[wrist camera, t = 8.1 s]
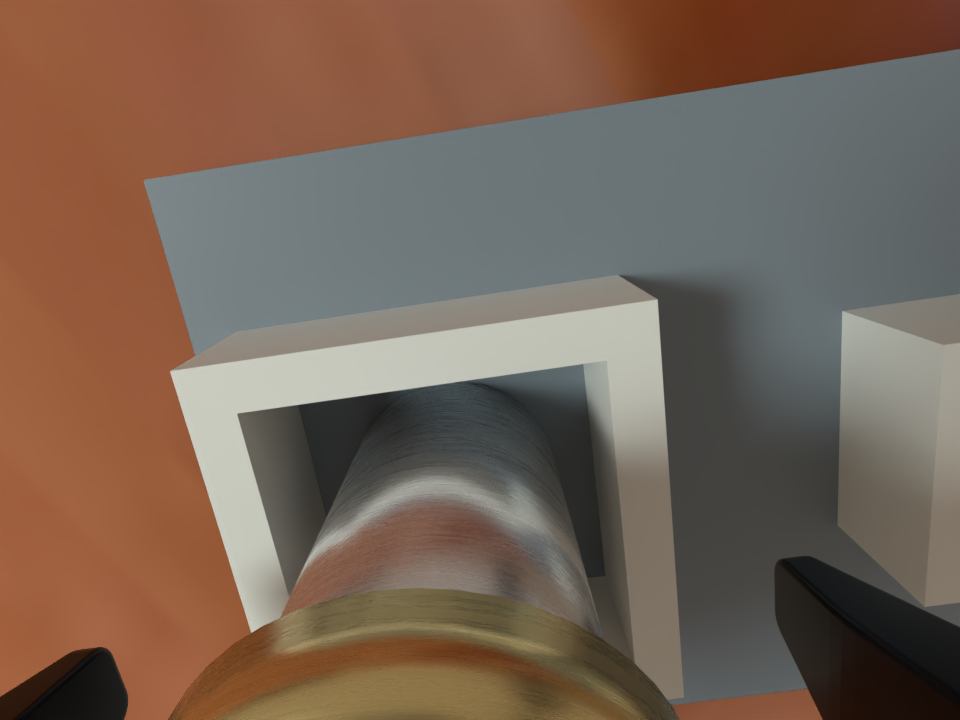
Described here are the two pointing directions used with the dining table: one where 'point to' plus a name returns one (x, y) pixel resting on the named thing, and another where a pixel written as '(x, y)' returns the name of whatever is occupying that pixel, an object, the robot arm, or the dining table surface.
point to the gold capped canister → (437, 588)
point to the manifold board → (612, 342)
